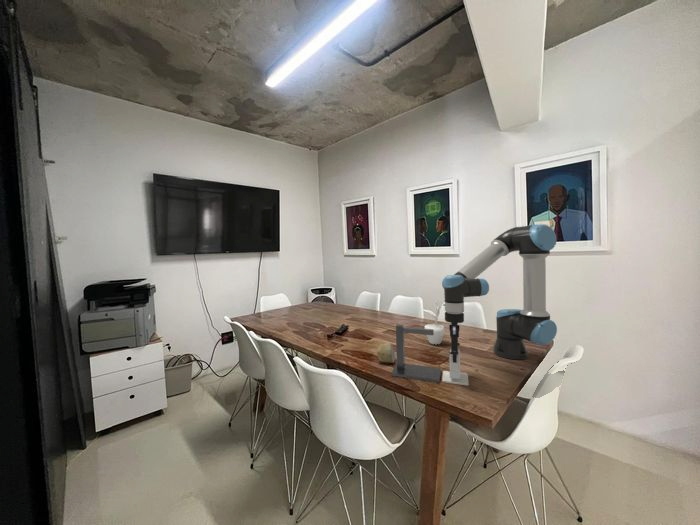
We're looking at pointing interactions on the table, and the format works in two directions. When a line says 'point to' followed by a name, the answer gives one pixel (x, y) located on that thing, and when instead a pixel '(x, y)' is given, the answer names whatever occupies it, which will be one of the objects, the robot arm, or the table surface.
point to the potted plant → (435, 328)
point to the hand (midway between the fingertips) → (454, 364)
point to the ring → (455, 373)
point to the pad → (461, 381)
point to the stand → (409, 369)
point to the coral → (386, 353)
